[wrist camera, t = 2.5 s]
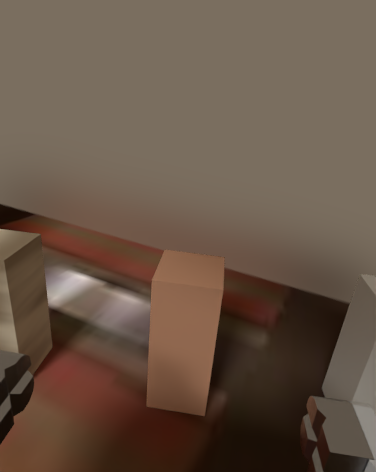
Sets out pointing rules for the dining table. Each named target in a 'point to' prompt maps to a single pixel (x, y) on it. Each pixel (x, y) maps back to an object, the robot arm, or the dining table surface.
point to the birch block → (23, 297)
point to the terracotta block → (183, 330)
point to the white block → (356, 349)
